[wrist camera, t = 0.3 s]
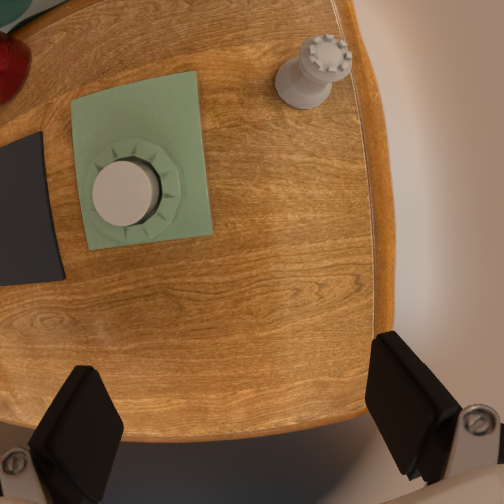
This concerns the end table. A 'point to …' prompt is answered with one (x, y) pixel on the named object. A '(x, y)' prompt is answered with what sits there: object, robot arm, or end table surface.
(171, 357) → the end table surface
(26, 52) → the soda can
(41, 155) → the mat
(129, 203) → the grey push button
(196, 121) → the push button box
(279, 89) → the rook chess piece
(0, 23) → the end table surface
